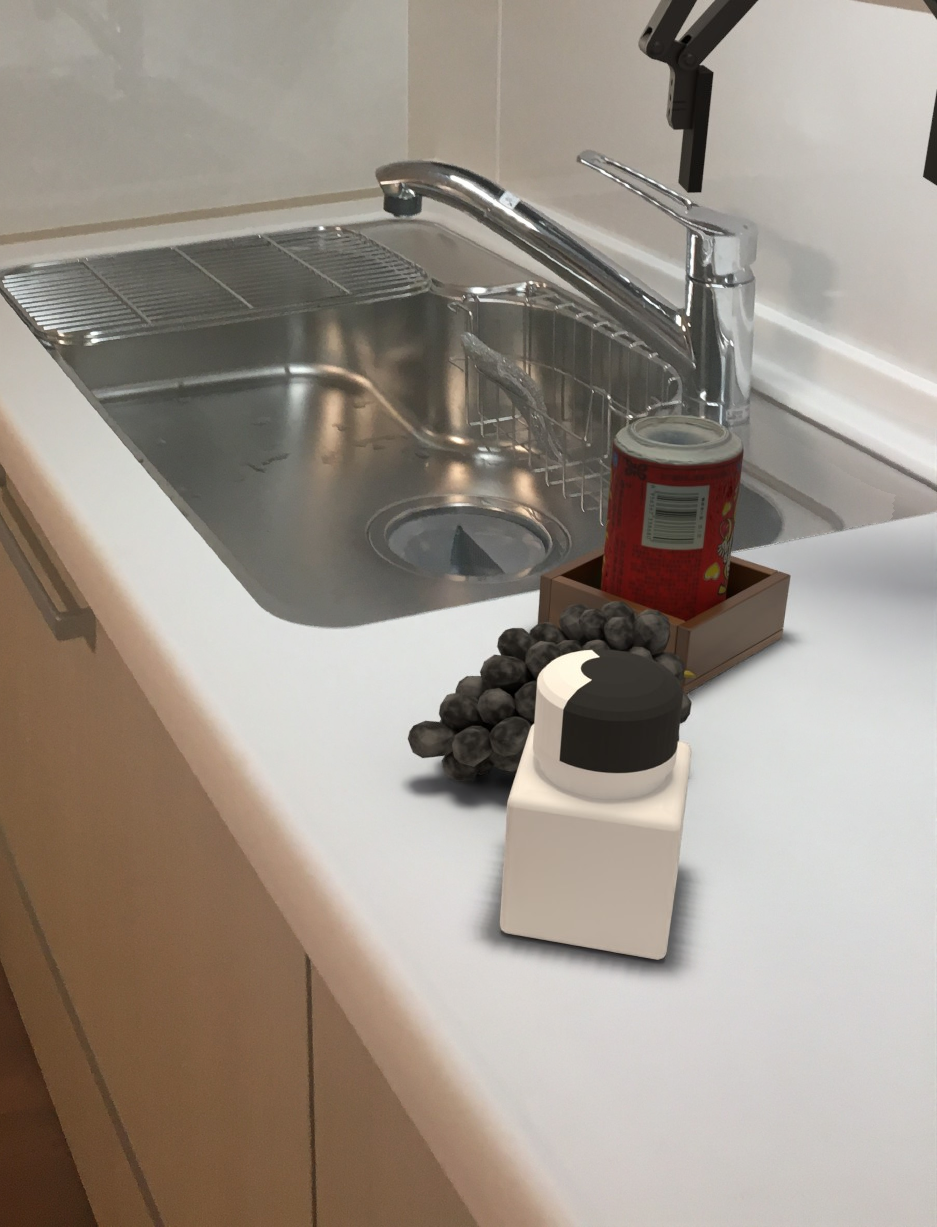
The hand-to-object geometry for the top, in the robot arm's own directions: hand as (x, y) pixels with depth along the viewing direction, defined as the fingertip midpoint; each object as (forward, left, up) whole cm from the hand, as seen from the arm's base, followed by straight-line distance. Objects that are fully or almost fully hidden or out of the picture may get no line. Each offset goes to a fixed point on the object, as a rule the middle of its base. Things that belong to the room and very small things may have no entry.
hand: (812, 185), depth 95 cm
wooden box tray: (0, +11, -25) cm, 27 cm away
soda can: (0, +11, -24) cm, 27 cm away
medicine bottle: (-13, +35, -25) cm, 45 cm away
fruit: (-4, +27, -25) cm, 37 cm away
